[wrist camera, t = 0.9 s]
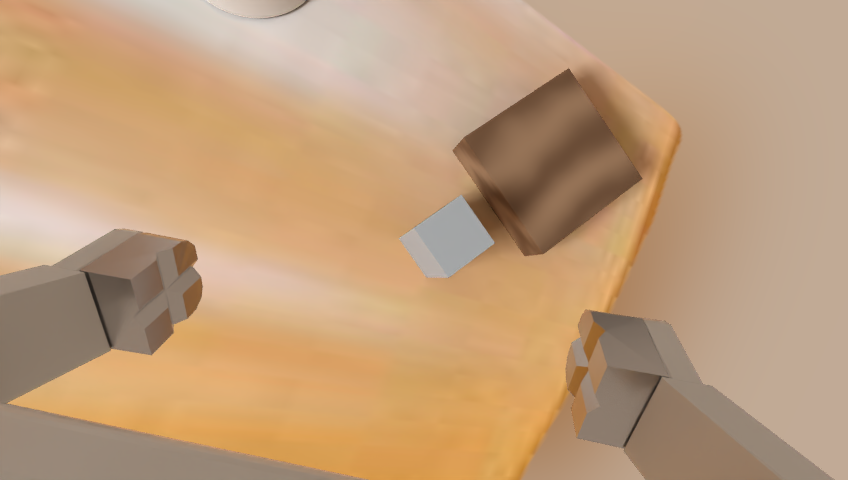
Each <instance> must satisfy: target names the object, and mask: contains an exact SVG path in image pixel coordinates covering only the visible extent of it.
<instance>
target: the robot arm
mask: <svg viewBox="0 0 848 480" xmlns="http://www.w3.org/2000/svg"><path fill="white" fill-rule="evenodd" d="M206 1H208V2H209V3H211V4H212V5H214V6H216V7H217V8H219V9H221V10H223V11H226V12H228V13H231V14H234V15H238V16H242V17H248V18H269V17H275V16H279V15H282V14H285V13H287V12H290V11H292V10H294V9H296V8H297V7H299V6H300V5H302V4H303V3H304V2H305V1H306V0H206ZM197 260H198V258H197V254H196V249H195V246H194V245H193V244H192V243H190V242H189V241H187V240H182V239H176V238H171V237H166V236H161V235H156V234H151V233H143V232H140V231H134V230H128V229H114V230H113V231H111V232H109V233H107V234H106V235H104V236H102V237H101V238H99V239H97V240H95V241H94V242H92V243H90V244H89V245H87V246H85V247H84V248H82V249H80V250H78V251H77V252H75V253H73V254H72V255H70V256H68V257H66V258H65V259H63V260H61V261H60V262H58V263H56V264H54V265H53V266H47V265H42V266H38V267H34V268H30V269H26V270H22V271H18V272H13V273H9V274H5V275H1V276H0V480H367V479H363V478H358V477H353V476H348V475H344V474H339V473H334V472H329V471H325V470H320V469H315V468H310V467H306V466H301V465H296V464H291V463H287V462H282V461H277V460H272V459H268V458H263V457H258V456H253V455H249V454H244V453H239V452H234V451H230V450H225V449H220V448H215V447H211V446H206V445H201V444H196V443H192V442H187V441H182V440H177V439H173V438H168V437H163V436H158V435H154V434H149V433H144V432H139V431H135V430H130V429H125V428H120V427H116V426H111V425H106V424H101V423H97V422H92V421H87V420H82V419H78V418H73V417H68V416H63V415H59V414H54V413H49V412H44V411H40V410H35V409H30V408H25V407H21V406H16V405H11V404H6V403H8V402H10V401H12V400H14V399H16V398H18V397H20V396H22V395H24V394H26V393H28V392H30V391H32V390H34V389H36V388H38V387H40V386H42V385H43V384H45V383H47V382H49V381H51V380H53V379H55V378H57V377H59V376H61V375H63V374H65V373H67V372H69V371H71V370H73V369H75V368H77V367H79V366H81V365H83V364H85V363H87V362H89V361H91V360H93V359H95V358H97V357H99V356H101V355H103V354H105V353H107V352H109V351H110V350H111V349H117V350H123V351H129V352H135V353H141V354H148V355H152V354H153V353H154V352H155V351H156V350H157V349H158V348H159V347H160V346H161V345H162V344H163V343H164V342H165V341H166V340H167V339H168V338H169V337H170V336H171V335H172V334H173V333H174V324H176V323H178V322H181V321H183V320H185V319H188V318H189V316H190V315H191V314H192V313H193V312H194V311H195V310H196V308H197V306H198V304H199V302H200V299H201V297H202V287H203V286H202V280H201V276H200V275H199V274H198V273H197V271H196V270H195V269H194V268H193V265H194V264H195V263H196V261H197ZM578 328H579V333H580V338H578V339H577V340H575V341H574V342H572V343H571V346H570V350H569V353H568V356H567V363H566V382H567V388H568V390H569V392H570V393H571V394H572V395H573V396H574V397H575V399H574V402H573V404H572V407H571V411H572V416H573V421H574V427H575V432H576V437H577V438H579V439H583V440H588V441H592V442H597V443H602V444H606V445H610V446H615V447H619V448H624V452H625V453H626V455H627V456H628V457H629V459H630V460H631V461H632V463H633V464H634V465H635V467H636V468H637V469H638V470H639V472H640V473H641V474H642V476H643V477H644V478H645V480H834V479H833V478H831V477H830V476H829V475H828V474H826V473H825V472H824V471H822V470H821V469H820V468H818V467H817V466H816V465H815V464H813V463H812V462H811V461H809V460H808V459H807V458H805V457H804V456H803V455H801V454H800V453H799V452H798V451H796V450H795V449H794V448H792V447H791V446H790V445H788V444H787V443H786V442H784V441H783V440H782V439H780V438H779V437H778V436H777V435H775V434H774V433H773V432H771V431H770V430H769V429H768V428H766V427H765V426H764V425H762V424H761V423H760V422H758V421H757V420H756V419H755V418H753V417H752V416H751V415H749V414H748V413H747V412H745V411H744V410H743V409H742V408H740V407H739V406H738V405H736V404H735V403H734V402H732V401H731V400H730V399H729V398H727V397H726V396H724V395H723V394H722V393H721V392H719V391H718V390H717V389H715V388H714V387H713V386H710V385H704V384H703V383H702V381H701V379H700V377H699V376H698V374H697V372H696V370H695V368H694V367H693V365H692V363H691V361H690V359H689V357H688V356H687V354H686V352H685V350H684V348H683V346H682V344H681V343H680V341H679V339H678V337H677V335H676V333H675V331H674V330H673V328H672V326H671V325H670V324H669V323H667V322H666V321H661V320H654V319H646V318H640V317H639V318H636V317H630V316H623V315H617V314H611V313H604V312H598V311H592V310H585V311H584V313H583V314H582V316H581V318H580V321H579V324H578ZM110 348H111V349H110Z"/></svg>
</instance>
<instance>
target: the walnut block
mask: <svg viewBox="0 0 848 480" xmlns="http://www.w3.org/2000/svg"><path fill="white" fill-rule="evenodd" d="M453 152H454V154H455V155H456V156H457V158H458V159H459V161H460V162H461V164H462V165H463V167H464V168H465V170H466V171H467V173H468V174H469V175H470V177H471V178H472V180H473V181H474V183H475V184H476V186H477V187H478V189H479V190H480V192H481V193H482V194H483V196H484V197H485V199H486V200H487V202H488V203H489V205H490V206H491V208H492V209H493V211H494V212H495V213H496V215H497V216H498V218H499V219H500V221H501V222H502V224H503V225H504V227H505V228H506V230H507V231H508V232H509V234H510V235H511V237H512V238H513V240H514V241H515V243H516V244H517V246H518V247H519V249H520V250H521V252H522V253H523V254H524V256H529V255H538V254H544V253H545V252H547V251H548V250H549V249H550V248H552V247H553V246H554V245H556V244H557V243H558V242H560V241H561V240H562V239H564V238H565V237H566V236H568V235H569V234H570V233H571V232H573V231H574V230H575V229H577V228H578V227H579V226H581V225H582V224H583V223H585V222H586V221H587V220H589V219H590V218H591V217H593V216H594V215H595V214H596V213H598V212H599V211H600V210H602V209H603V208H604V207H606V206H607V205H608V204H610V203H611V202H612V201H614V200H615V199H616V198H617V197H619V196H620V195H621V194H623V193H624V192H625V191H627V190H628V189H629V188H631V187H632V186H633V185H635V184H636V183H637V182H638V181H640V180H641V179H642V177H641V176H640V174H639V173H638V171H637V170H636V168H635V167H634V165H633V164H632V162H631V161H630V159H629V158H628V156H627V155H626V153H625V152H624V150H623V149H622V147H621V146H620V144H619V143H618V141H617V140H616V138H615V137H614V135H613V134H612V132H611V131H610V129H609V128H608V126H607V125H606V123H605V122H604V120H603V119H602V117H601V116H600V114H599V113H598V111H597V110H596V108H595V107H594V105H593V104H592V102H591V101H590V99H589V98H588V96H587V95H586V93H585V92H584V90H583V89H582V87H581V86H580V84H579V83H578V81H577V80H576V78H575V77H574V75H573V74H572V72H571V71H570V69H569V68H568V69H567V70H565V71H564V72H562V73H561V74H559V75H558V76H556V77H555V78H553V79H552V80H550V81H549V82H547V83H546V84H544V85H543V86H541V87H540V88H538V89H537V90H535V91H534V92H532V93H531V94H529V95H527V96H526V97H524V98H523V99H521V100H520V101H518V102H517V103H515V104H514V105H512V106H511V107H509V108H508V109H506V110H505V111H503V112H502V113H500V114H499V115H497V116H496V117H494V118H493V119H491V120H490V121H488V122H487V123H485V124H484V125H482V126H481V127H479V128H478V129H476V130H475V131H473V132H472V133H470V134H469V135H467V136H466V137H464V138H463V139H462V140H461V142H460V143H459V144H458V145H457V146H456V147H455V149H454V150H453Z"/></svg>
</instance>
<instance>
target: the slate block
mask: <svg viewBox="0 0 848 480" xmlns="http://www.w3.org/2000/svg"><path fill="white" fill-rule="evenodd" d="M399 239H400V241H401V242H402V244H403V245H404V247H405V248H406V249H407V251H408V252H409V254H410V255H411V256H412V258H413V259H414V261H415V262H416V264H417V265H418V266H419V268H420V269H421V271H422V272H423V274H424V275H425V276H426V277H441V278H449V277H450V276H451V275H453V274H454V273H455V272H457V271H458V270H459V269H461V268H462V267H463V266H465V265H466V264H468V263H469V262H470V261H472V260H473V259H474V258H476V257H477V256H478V255H480V254H481V253H482V252H484V251H485V250H486V249H488V248H489V247H490V246H492V245H493V244H494V243H495V242H494V241H493V240H492V238H491V237H490V235H489V234H488V232H487V231H486V229H485V228H484V227H483V225H482V224H481V222H480V221H479V219H478V218H477V216H476V215H475V214H474V212H473V211H472V209H471V208H470V206H469V205H468V204H467V202H466V201H465V199H464V198H463V196H462V195H460V196H459V197H457V198H456V199H454V200H453V201H452V202H450V203H449V204H447V205H446V206H444V207H443V208H442V209H440V210H439V211H437V212H436V213H434V214H433V215H431V216H430V217H429V218H427V219H426V220H424V221H423V222H422V223H420V224H419V225H417V226H416V227H414V228H413V229H412V230H410V231H409V232H407V233H406V234H404V235H403V236H402V237H400V238H399Z"/></svg>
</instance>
